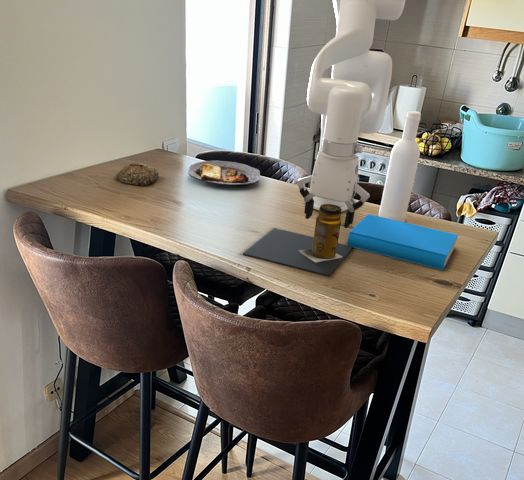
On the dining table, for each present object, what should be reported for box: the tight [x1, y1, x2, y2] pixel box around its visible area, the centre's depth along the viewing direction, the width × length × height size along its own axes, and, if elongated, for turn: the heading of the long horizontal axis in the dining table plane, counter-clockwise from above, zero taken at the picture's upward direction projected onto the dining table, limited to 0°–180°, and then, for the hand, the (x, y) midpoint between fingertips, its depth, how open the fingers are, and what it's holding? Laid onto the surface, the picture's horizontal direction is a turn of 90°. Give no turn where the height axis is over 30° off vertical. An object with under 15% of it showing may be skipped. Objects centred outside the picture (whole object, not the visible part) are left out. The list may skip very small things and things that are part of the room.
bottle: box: [378, 110, 422, 223], centre depth 156 cm, size 8×8×30 cm
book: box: [346, 213, 459, 271], centre depth 147 cm, size 17×4×25 cm
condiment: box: [298, 204, 342, 262], centre depth 135 cm, size 7×8×12 cm
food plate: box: [187, 160, 261, 186], centre depth 185 cm, size 25×23×4 cm
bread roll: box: [115, 162, 159, 187], centre depth 176 cm, size 13×12×5 cm
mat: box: [242, 227, 354, 278], centre depth 140 cm, size 20×22×1 cm
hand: (327, 221), depth 134 cm, fingers open, 9 cm apart
